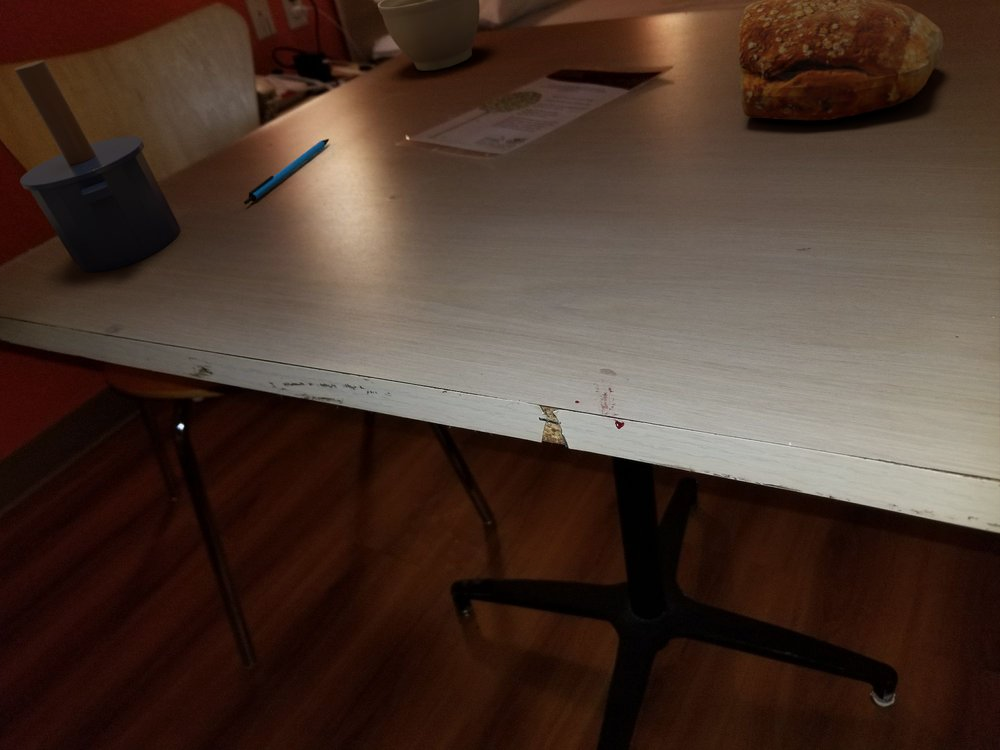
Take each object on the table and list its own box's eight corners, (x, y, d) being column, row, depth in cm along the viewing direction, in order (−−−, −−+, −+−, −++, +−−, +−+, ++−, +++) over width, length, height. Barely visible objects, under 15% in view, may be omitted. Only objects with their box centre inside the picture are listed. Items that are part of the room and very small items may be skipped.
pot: (83, 292, 73) (29, 205, 68) (72, 243, 86) (26, 167, 80) (193, 248, 77) (150, 162, 71) (167, 207, 90) (128, 132, 84)
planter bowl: (394, 64, 127) (376, -4, 121) (483, 41, 127) (469, -28, 121) (399, 86, 114) (378, 12, 108) (498, 60, 114) (483, -16, 108)
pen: (243, 206, 84) (240, 197, 83) (327, 142, 97) (324, 134, 97) (250, 206, 83) (246, 197, 83) (332, 142, 97) (329, 133, 96)
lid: (27, 207, 70) (-44, 94, 63) (25, 178, 79) (-37, 77, 73) (155, 161, 74) (100, 51, 67) (138, 139, 83) (89, 40, 77)
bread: (765, 66, 86) (766, -27, 80) (943, 56, 77) (959, -51, 71) (716, 133, 73) (713, 27, 67) (924, 130, 64) (942, 7, 58)
